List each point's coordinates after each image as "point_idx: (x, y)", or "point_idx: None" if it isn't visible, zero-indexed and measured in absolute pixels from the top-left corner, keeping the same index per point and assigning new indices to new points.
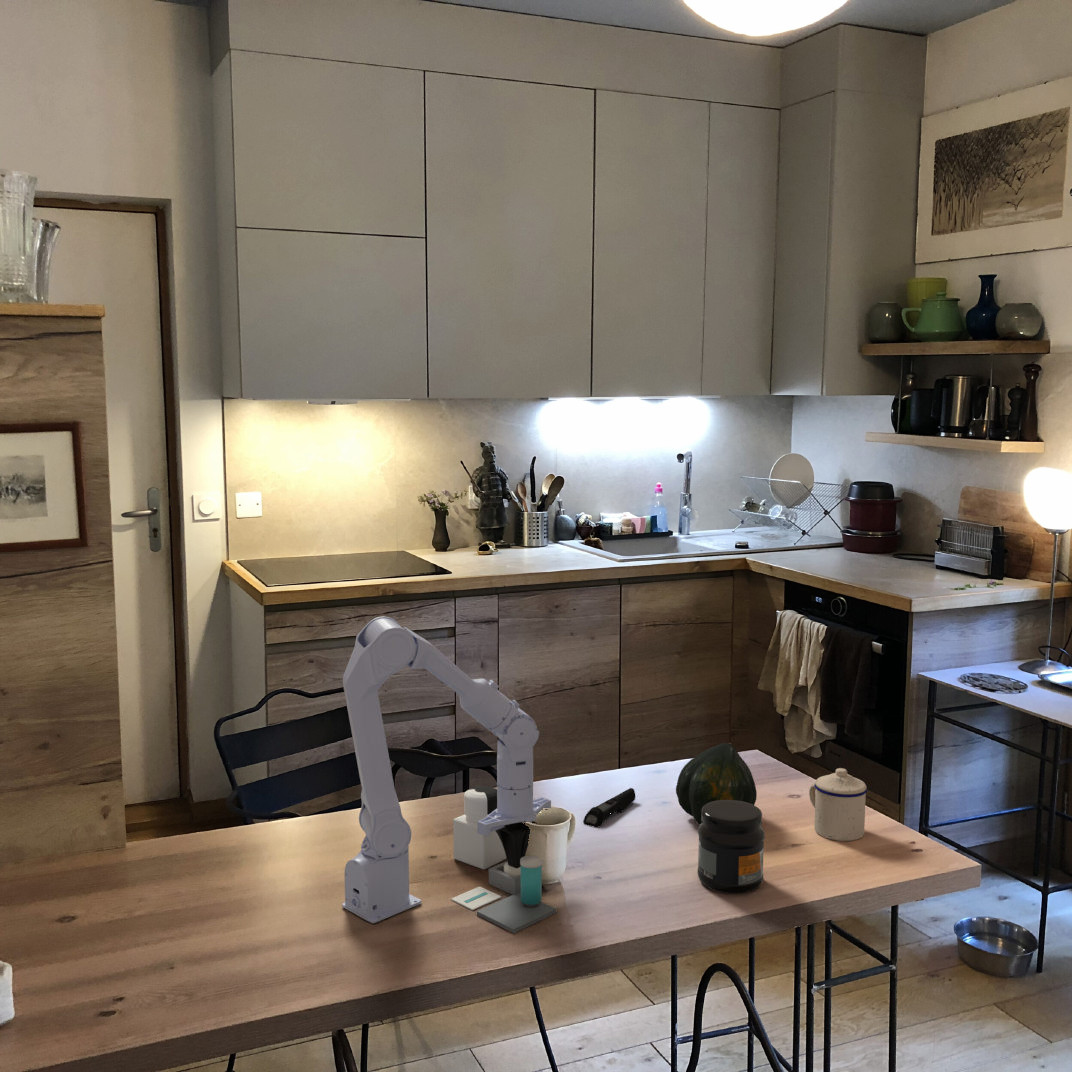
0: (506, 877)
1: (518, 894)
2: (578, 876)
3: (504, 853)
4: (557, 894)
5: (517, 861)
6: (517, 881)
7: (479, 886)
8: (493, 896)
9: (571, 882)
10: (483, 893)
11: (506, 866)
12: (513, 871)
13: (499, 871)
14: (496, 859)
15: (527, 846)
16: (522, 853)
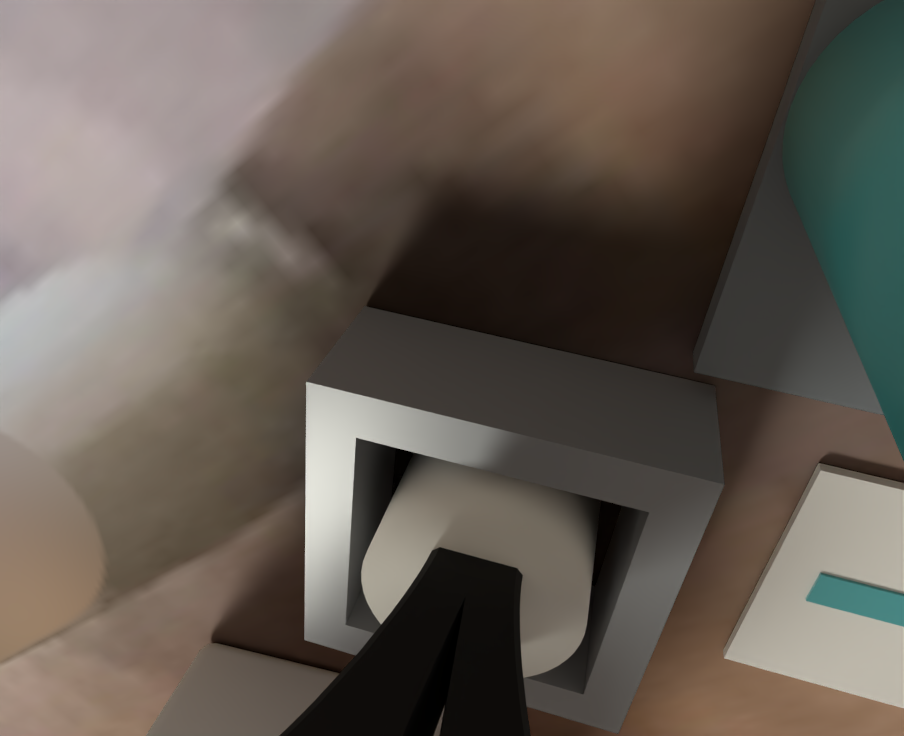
0: (684, 572)
1: (749, 354)
2: (26, 103)
3: (251, 694)
4: (445, 44)
5: (518, 630)
6: (682, 457)
7: (725, 658)
8: (849, 521)
9: (152, 85)
10: (842, 601)
11: (542, 652)
12: (575, 569)
13: (613, 658)
14: None
15: (319, 709)
16: (428, 672)
